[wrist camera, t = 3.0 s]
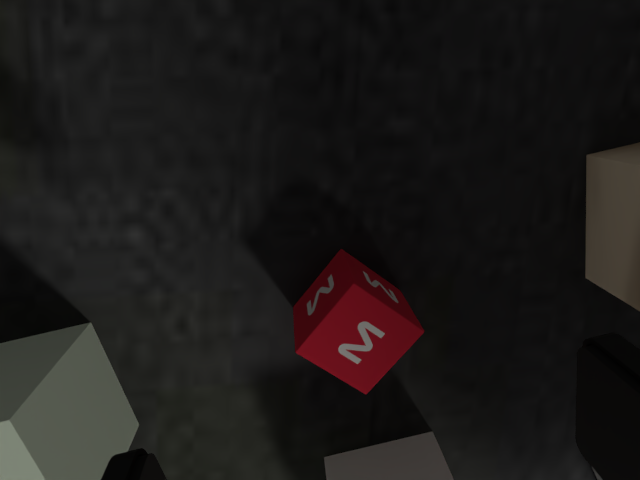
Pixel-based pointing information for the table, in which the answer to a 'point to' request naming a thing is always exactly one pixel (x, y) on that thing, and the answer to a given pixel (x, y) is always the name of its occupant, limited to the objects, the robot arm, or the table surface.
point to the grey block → (391, 461)
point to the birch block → (614, 222)
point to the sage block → (60, 407)
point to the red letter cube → (354, 323)
